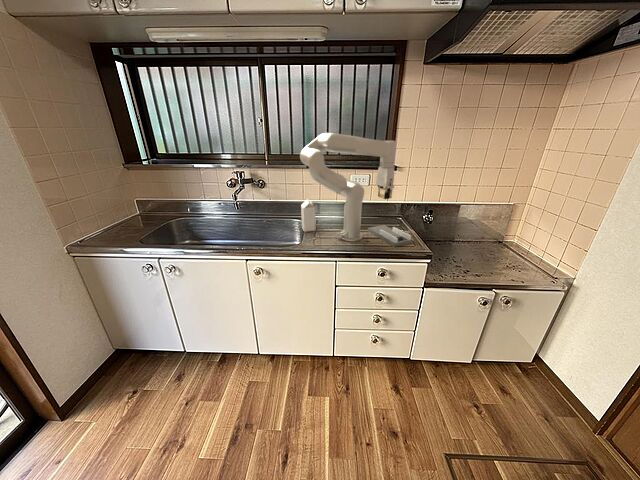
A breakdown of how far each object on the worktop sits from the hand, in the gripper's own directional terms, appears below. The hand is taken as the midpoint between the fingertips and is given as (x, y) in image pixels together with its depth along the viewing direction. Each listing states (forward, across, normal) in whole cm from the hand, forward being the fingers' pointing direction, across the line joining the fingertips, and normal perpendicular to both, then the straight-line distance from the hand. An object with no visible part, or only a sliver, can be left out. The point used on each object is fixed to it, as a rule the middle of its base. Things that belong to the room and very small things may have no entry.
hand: (383, 197), depth 146 cm
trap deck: (+21, +8, 0) cm, 23 cm away
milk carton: (+22, -22, -38) cm, 49 cm away
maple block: (0, 0, +1) cm, 1 cm away
